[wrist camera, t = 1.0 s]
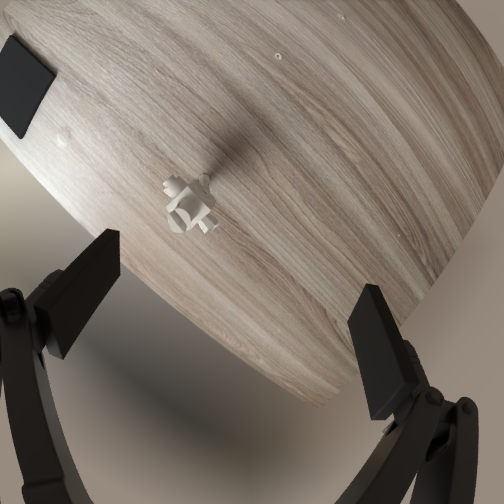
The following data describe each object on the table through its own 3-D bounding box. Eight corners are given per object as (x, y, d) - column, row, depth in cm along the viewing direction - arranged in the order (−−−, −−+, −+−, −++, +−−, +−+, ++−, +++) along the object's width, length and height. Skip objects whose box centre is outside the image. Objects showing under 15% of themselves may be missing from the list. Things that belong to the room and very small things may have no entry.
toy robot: (213, 218, 40) (193, 261, 30) (173, 176, 38) (137, 206, 27) (234, 199, 39) (221, 238, 28) (194, 156, 37) (163, 179, 26)
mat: (-16, 92, 30) (-19, 93, 30) (12, 35, 26) (9, 35, 25) (22, 138, 35) (19, 139, 34) (56, 75, 31) (53, 75, 30)
